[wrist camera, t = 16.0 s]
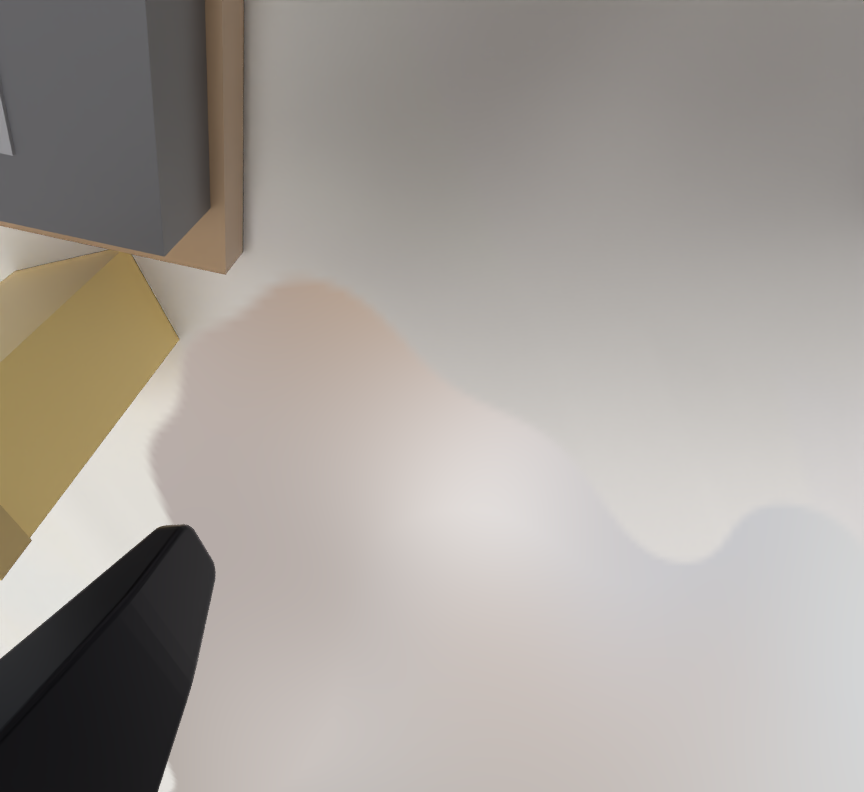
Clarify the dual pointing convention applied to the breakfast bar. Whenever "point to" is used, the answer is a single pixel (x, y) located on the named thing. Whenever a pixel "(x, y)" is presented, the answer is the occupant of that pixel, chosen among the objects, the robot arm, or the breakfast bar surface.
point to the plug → (67, 376)
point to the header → (125, 125)
